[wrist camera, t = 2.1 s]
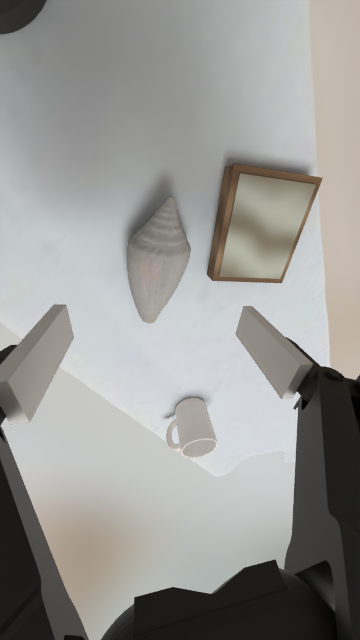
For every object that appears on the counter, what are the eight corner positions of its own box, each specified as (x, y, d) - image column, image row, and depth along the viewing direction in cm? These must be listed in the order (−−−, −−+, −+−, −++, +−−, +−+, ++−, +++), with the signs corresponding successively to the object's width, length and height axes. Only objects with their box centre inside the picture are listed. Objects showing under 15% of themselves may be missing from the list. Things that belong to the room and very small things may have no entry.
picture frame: (225, 167, 24) (235, 163, 22) (305, 180, 27) (324, 177, 24) (206, 274, 32) (213, 281, 29) (271, 276, 34) (282, 283, 31)
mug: (172, 424, 54) (177, 467, 45) (156, 411, 49) (159, 456, 41) (209, 407, 52) (223, 448, 43) (197, 392, 48) (209, 434, 39)
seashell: (158, 254, 36) (188, 191, 22) (183, 309, 36) (229, 281, 22) (114, 267, 33) (115, 201, 19) (140, 327, 32) (162, 307, 18)
